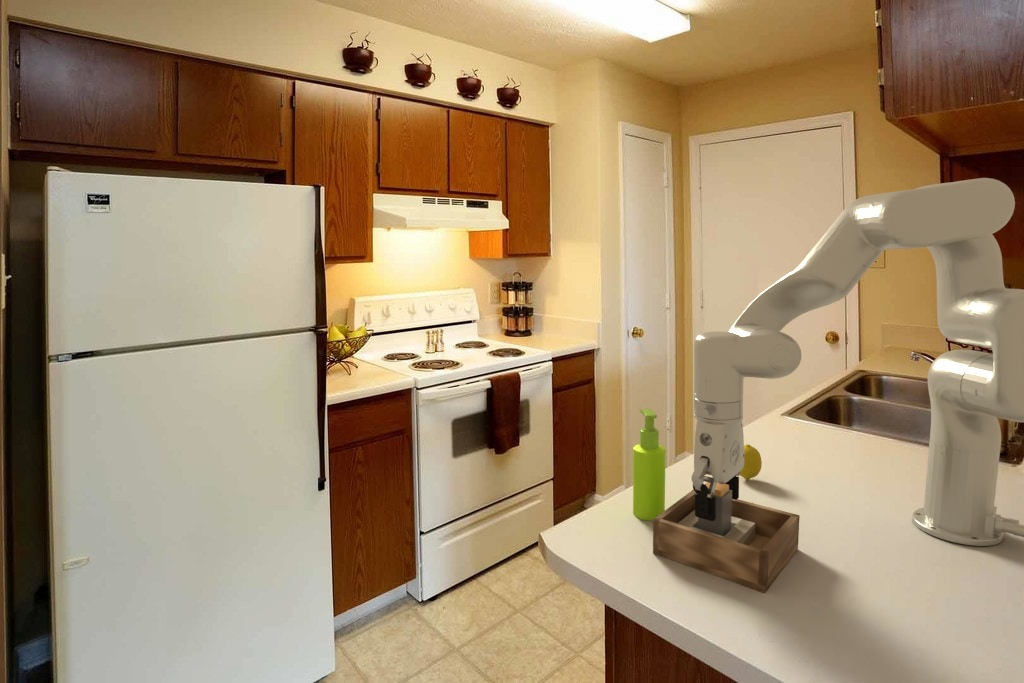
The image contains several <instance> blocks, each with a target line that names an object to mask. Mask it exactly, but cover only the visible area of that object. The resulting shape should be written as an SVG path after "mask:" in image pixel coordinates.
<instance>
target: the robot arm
mask: <svg viewBox="0 0 1024 683" xmlns="http://www.w3.org/2000/svg"><path fill="white" fill-rule="evenodd" d="M1015 206H1016V201H1015V197H1014V193H1013V192H1012V190H1011V188H1010V187H1009V186H1008V185H1007V184H1005V183H1004V182H1002V181H1001V180H998V179H995V178H989V177H981V178H979V177H978V178H973V179H965V180H957V181H953V182H951V181H950V182H944V183H943V182H941V183H935V184H928V185H924V186H920V187H917V188H914V189H906V190H905V189H904V190H897V191H890V192H882V193H875V194H869V195H865V196H861V197H859V198H857V199H855V200H853V201H852V202H850V203H849V204H848V205H847V206H846V207H845V208H844V209H843V210H842V211H841V213H840V214H839V215H838V216H837V218H836V219H835V220H834V221H833V223H832V224H831V225H830V226H829V228H828V229H827V230H826V231H825V232H824V234H823V235H822V236H821V237H820V239H819V240H818V241H817V242H816V244H814V246H813V247H812V249H811V250H810V251H809V252H808V253H807V255H806V256H805V257H804V258H803V260H802V261H801V262H800V263H799V264H798V265H797V266H796V267H795V268H794V269H793V270H791V271H790V272H788V273H787V274H785V275H784V276H782V277H781V278H780V279H779V280H777V281H776V282H775V283H773V284H771V286H769V287H768V288H766V289H765V290H764V291H762V292H761V293H760V294H758V295H757V297H756V298H754V300H752V301H751V302H750V303H749V304H748V305H747V307H746V308H744V310H743V311H742V313H741V314H740V315H739V317H738V318H736V320H735V321H734V323H733V324H732V326H730V329H729V330H728V331H706V332H701V333H699V334H698V335H697V336H696V337H695V339H694V341H693V418H695V419H696V425H695V431H694V432H695V433H694V434H695V435H694V450H693V472H692V474H691V482H692V488H693V489H694V494H695V516H696V517H699V518H702V519H706V520H709V521H714V520H715V519H716V497H714V496H713V495H714V491H715V488H716V484H717V482H719V484H728V485H729V490H732V499H735V500H737V499H740V498H739V497H740V475H739V474H740V471H741V470H742V469H743V467H744V446H745V443H744V442H745V441H744V440H745V439H744V437H745V436H744V425H743V419H744V378H757V379H769V380H771V379H772V380H773V379H774V380H775V379H780V378H785V377H787V376H789V375H791V374H792V373H793V372H795V371H796V369H798V368H799V365H800V364H801V361H802V355H803V354H802V349H801V346H800V345H799V342H797V341H796V340H795V339H794V338H793V337H792V336H790V335H788V334H787V333H784V332H781V331H782V330H783V329H784V328H785V327H786V326H787V325H789V323H791V322H792V321H793V320H795V319H797V318H798V317H801V316H802V315H804V314H806V313H808V312H809V313H810V312H811V311H814V310H817V309H820V308H823V307H827V306H830V305H832V304H833V303H836V302H838V301H841V300H842V299H845V297H847V296H848V295H849V294H850V292H851V291H852V290H853V289H854V287H855V286H856V285H857V284H858V283H859V281H860V280H861V279H862V277H863V276H864V275H865V274H866V273H867V272H868V270H869V269H870V268H871V267H872V265H873V264H874V263H875V262H876V261H877V260H878V258H880V256H881V255H882V253H883V252H885V250H910V249H911V250H913V249H919V248H927V250H928V251H929V252H930V254H931V256H932V257H933V260H934V265H935V273H936V274H935V275H936V314H937V316H936V317H937V327H938V330H939V331H940V333H941V335H943V336H944V337H945V338H946V339H948V340H951V341H953V342H956V343H960V344H966V345H970V346H976V347H981V348H985V349H986V348H987V349H991V350H992V353H990V352H985V351H981V350H980V351H978V350H972V349H953V350H949V351H946V352H944V353H941V354H940V355H939V356H937V357H936V358H935V359H934V360H933V361H932V363H931V365H930V366H929V369H928V371H927V389H928V395H929V400H930V433H929V441H928V442H929V444H928V455H927V456H928V457H927V465H926V466H927V468H926V477H925V479H926V481H925V490H924V503H923V507H922V508H918V509H915V510H914V511H913V512H912V518H911V519H912V522H913V524H914V525H915V526H916V527H917V528H919V529H920V530H921V531H923V532H925V533H926V534H928V535H931V536H932V537H935V538H939V539H941V540H944V541H947V542H951V543H955V544H960V545H966V546H976V547H989V546H990V547H991V546H995V545H998V544H1000V543H1002V541H1003V540H1004V533H1007V534H1012V535H1013V536H1017V537H1021V538H1024V524H1020V520H1019V519H1016V518H1011V517H1010V518H1009V517H1003V516H1002V514H998V513H997V508H998V507H997V506H995V501H996V493H997V484H998V473H999V463H1000V456H1001V455H1000V454H1001V445H1002V432H1001V426H1000V423H999V420H998V418H999V419H1001V420H1002V419H1003V420H1006V421H1010V422H1015V423H1024V289H1021V288H1006V286H1005V283H1004V270H1003V256H1002V251H1001V248H1000V245H999V242H998V241H997V239H996V238H995V236H994V233H997V232H998V231H1000V230H1001V229H1003V227H1005V226H1006V225H1007V224H1008V222H1009V221H1010V220H1011V217H1012V216H1013V215H1014V210H1015ZM706 475H707V476H706ZM711 476H712V477H711ZM704 482H705V483H704ZM707 482H709V483H710V486H709V489H708V488H707V486H706V485H705V484H706V483H707ZM693 489H692V490H693Z"/></svg>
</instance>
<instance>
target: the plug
mask: <svg viewBox="0 0 1024 683" xmlns="http://www.w3.org/2000/svg"><path fill="white" fill-rule="evenodd" d="M704 484H705V485H706V486H707V488H708V489H709V486H710V483H709V482H705V483H704ZM713 496H714V497H716V519H715V520H714V521H709V520H706V519H702V518H699V517H698V529H701V530H705V531H708V532H711V533H714V534H718V535H721V536H725V535H726V534H727V533H728V532H729V531H730V530H731V514H732V490H729V485H728V484H719V482H717V484H716V488H715V491H714V495H713Z"/></svg>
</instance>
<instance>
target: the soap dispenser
mask: <svg viewBox="0 0 1024 683" xmlns="http://www.w3.org/2000/svg"><path fill="white" fill-rule="evenodd" d="M639 413H642V415H643V416H644V426H643V427H642V428H641V429H640V430H639V431H640V432H639V444H635V445H634V446H633V450H632V456H633V457H632V463H633V464H632V465H633V466H632V474H633V475H632V489H633V490H632V513H633V515H634V516H635V517H636V518H637V519H639V520H643V521H651V522H652V521H653V519H654V518H656V517H657V516H658V515H660V514H661V513H662V512H664V511H665V510H666V447H664V446H663V445H660V444H659V436H660V434H659V433H660V432H659V429H658V428H656V427H655V419H657V417H658V416H657V414H656V413H655V411H654V410H653V409H651V408H649V409H648V408H644V409H642V408H641V409H639Z"/></svg>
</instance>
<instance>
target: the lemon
mask: <svg viewBox="0 0 1024 683" xmlns="http://www.w3.org/2000/svg"><path fill="white" fill-rule="evenodd" d="M762 464H763V462H762V457H761V454H760V452H759V451H758V449H757V448H756V447H754V446H752V445H751V444H749V443H748V444H745V445H744V467H743V469H742V470H741V471H740V474H739V477H742V478H743V479H744V480H745V481H749V480H750V479H753V478H755V477H757V476H758V475H759V474H760V472H761V470H762Z"/></svg>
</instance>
